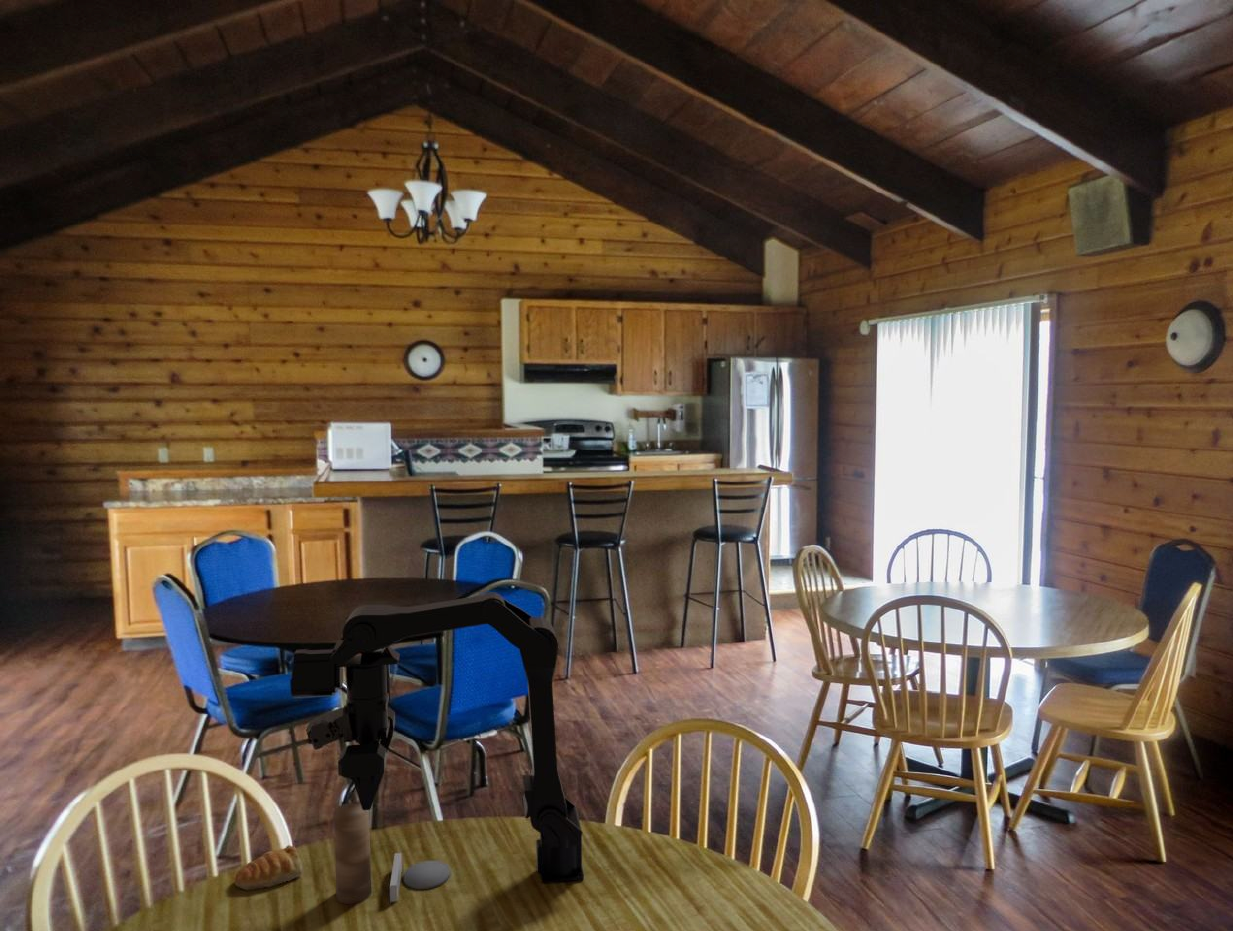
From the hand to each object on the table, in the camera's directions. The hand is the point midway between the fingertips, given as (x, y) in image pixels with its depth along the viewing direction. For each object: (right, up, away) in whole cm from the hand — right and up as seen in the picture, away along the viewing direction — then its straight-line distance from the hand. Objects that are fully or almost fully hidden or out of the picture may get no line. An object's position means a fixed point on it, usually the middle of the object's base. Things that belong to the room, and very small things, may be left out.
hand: (370, 794), depth 131 cm
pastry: (-16, -15, +5) cm, 22 cm away
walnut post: (-2, -15, 0) cm, 15 cm away
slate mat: (+7, -14, +5) cm, 17 cm away
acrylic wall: (+3, -15, +2) cm, 15 cm away
